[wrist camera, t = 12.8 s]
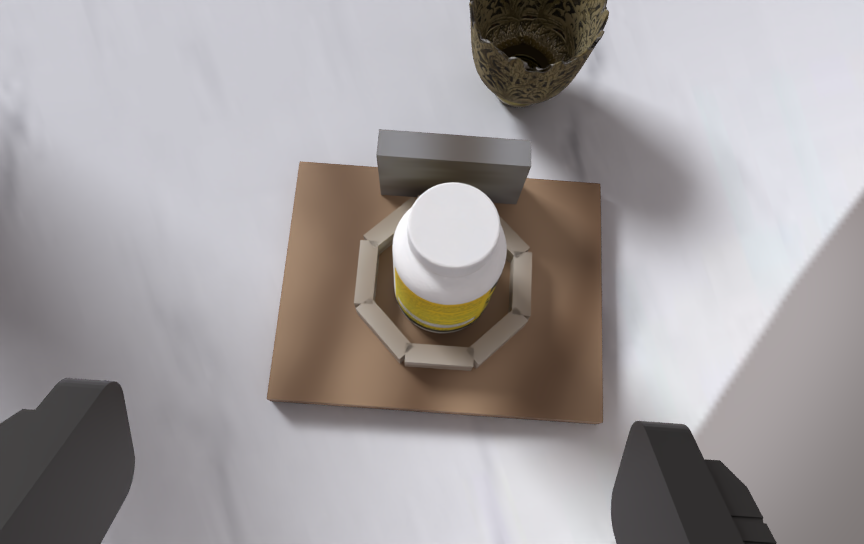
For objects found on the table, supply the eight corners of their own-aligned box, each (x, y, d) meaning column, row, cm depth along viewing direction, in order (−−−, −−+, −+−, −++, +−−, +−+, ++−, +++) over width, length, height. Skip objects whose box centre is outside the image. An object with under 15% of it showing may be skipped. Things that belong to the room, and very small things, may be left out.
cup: (574, 43, 44) (609, -49, 36) (574, 142, 42) (610, 67, 34) (462, 34, 44) (473, -59, 36) (456, 133, 42) (466, 56, 34)
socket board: (271, 401, 36) (244, 386, 30) (302, 170, 41) (284, 118, 35) (596, 424, 37) (632, 414, 31) (594, 191, 41) (626, 143, 35)
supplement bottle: (495, 332, 37) (523, 282, 27) (397, 338, 36) (392, 290, 27) (485, 240, 38) (509, 163, 29) (392, 245, 38) (385, 170, 29)
